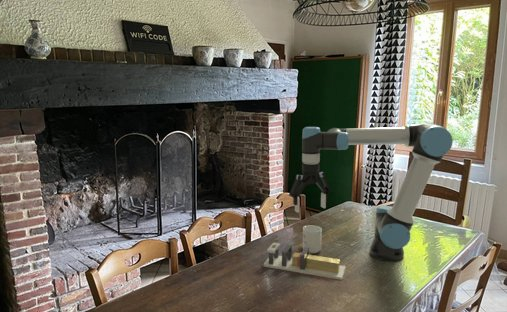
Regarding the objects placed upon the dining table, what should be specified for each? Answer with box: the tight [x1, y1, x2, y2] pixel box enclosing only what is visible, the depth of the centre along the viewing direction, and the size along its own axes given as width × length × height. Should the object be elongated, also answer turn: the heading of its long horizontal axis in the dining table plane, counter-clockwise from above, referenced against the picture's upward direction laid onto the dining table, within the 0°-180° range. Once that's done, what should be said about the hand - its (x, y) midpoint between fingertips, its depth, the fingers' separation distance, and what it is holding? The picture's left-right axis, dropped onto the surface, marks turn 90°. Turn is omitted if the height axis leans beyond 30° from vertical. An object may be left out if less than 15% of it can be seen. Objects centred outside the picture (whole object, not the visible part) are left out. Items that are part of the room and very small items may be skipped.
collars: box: [266, 242, 310, 270], centre depth 172 cm, size 17×8×6 cm, turn 69°
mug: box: [302, 224, 323, 255], centre depth 189 cm, size 12×9×11 cm
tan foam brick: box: [291, 251, 341, 273], centre depth 168 cm, size 20×4×4 cm, turn 69°
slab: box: [263, 255, 347, 281], centre depth 170 cm, size 34×11×1 cm, turn 69°
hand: (310, 209), depth 173 cm, fingers open, 13 cm apart
